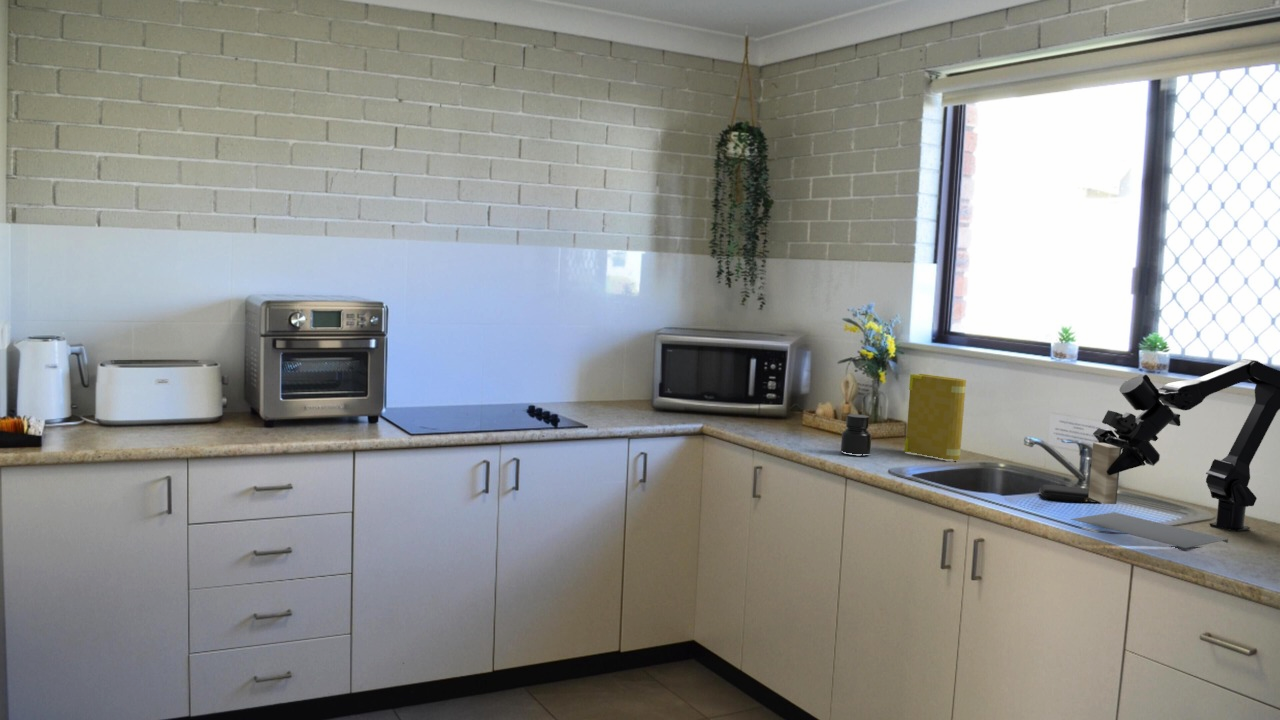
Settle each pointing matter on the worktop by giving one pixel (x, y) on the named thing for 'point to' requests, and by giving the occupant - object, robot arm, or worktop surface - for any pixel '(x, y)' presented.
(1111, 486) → the tan wooden block
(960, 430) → the book
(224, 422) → the worktop surface
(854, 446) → the ink bottle
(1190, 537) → the mat
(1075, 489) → the carrying case or bag
